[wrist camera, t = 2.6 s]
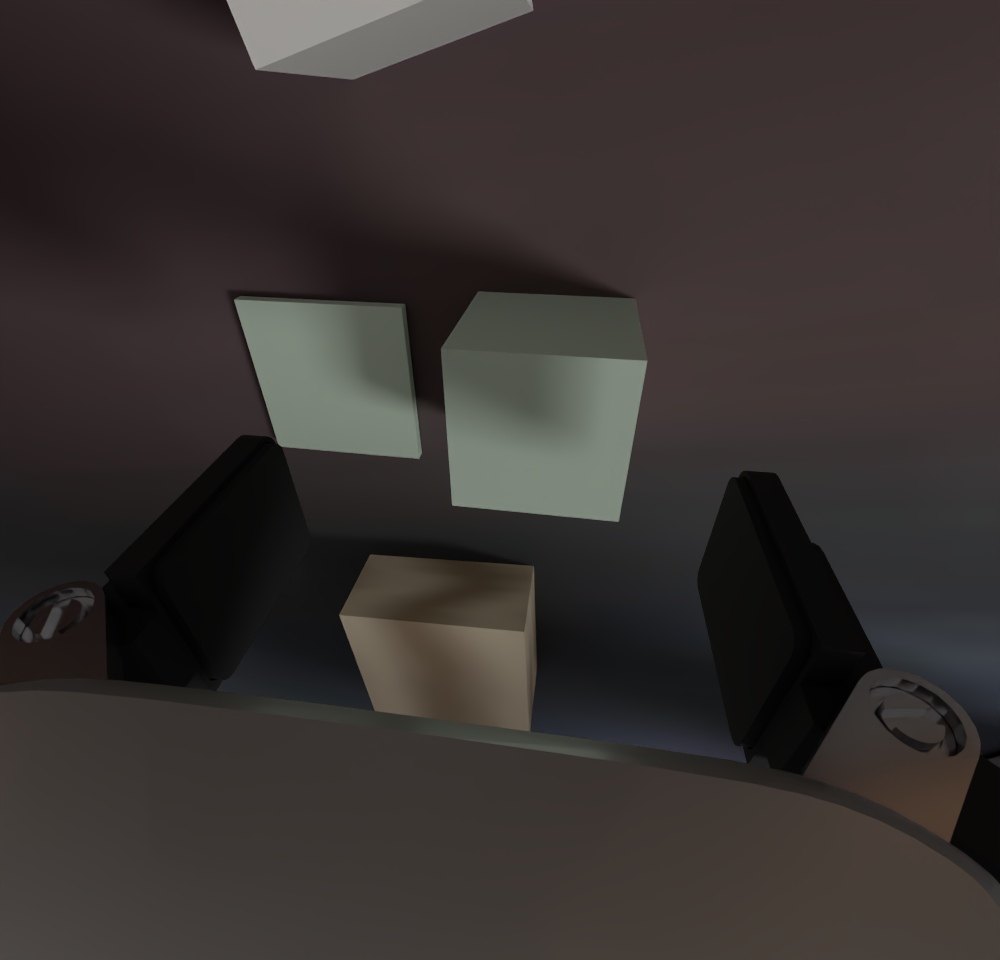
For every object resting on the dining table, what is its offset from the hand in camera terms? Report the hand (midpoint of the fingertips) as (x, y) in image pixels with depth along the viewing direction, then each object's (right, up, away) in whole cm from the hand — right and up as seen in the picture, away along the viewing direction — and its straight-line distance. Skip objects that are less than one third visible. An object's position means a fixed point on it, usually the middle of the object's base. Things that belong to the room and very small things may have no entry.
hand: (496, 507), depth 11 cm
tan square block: (-2, -6, +16) cm, 17 cm away
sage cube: (+2, +4, +7) cm, 8 cm away
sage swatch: (-6, +4, +8) cm, 11 cm away
